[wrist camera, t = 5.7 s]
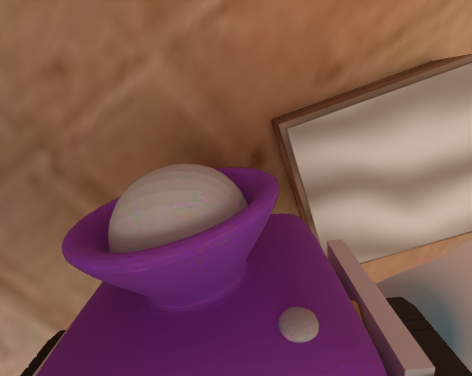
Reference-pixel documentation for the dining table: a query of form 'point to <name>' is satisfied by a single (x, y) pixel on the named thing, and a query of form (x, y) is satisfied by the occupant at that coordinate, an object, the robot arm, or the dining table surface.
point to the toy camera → (207, 285)
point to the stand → (386, 161)
